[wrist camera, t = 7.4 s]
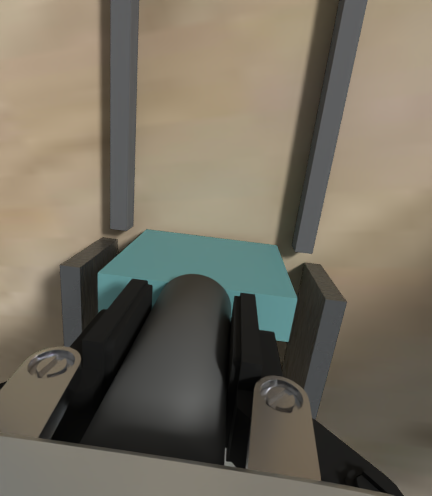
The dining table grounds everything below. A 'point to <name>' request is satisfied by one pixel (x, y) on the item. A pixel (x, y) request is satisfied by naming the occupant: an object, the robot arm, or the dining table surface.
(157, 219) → the dining table surface
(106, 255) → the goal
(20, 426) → the robot arm
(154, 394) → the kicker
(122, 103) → the lane rails
